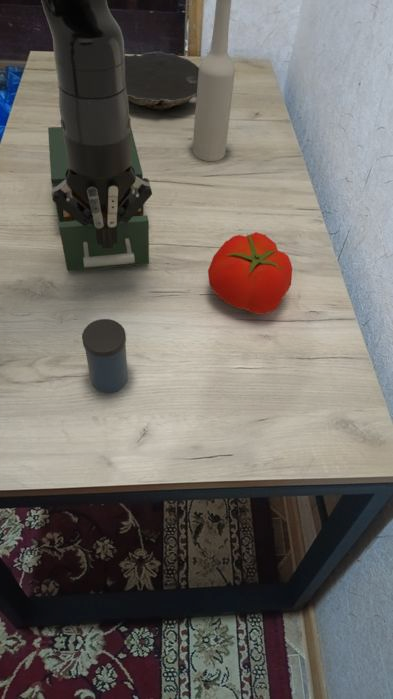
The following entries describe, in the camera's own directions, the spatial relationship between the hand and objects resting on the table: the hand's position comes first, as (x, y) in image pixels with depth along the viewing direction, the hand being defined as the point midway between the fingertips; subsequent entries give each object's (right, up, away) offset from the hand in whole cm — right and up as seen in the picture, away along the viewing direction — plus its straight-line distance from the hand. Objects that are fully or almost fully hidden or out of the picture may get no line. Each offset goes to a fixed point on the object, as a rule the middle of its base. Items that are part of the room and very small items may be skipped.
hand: (107, 244), depth 69 cm
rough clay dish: (+3, +42, +42) cm, 59 cm away
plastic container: (+1, -19, -5) cm, 19 cm away
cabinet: (-4, +11, +17) cm, 21 cm away
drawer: (-2, +1, +9) cm, 9 cm away
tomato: (+20, -6, +6) cm, 22 cm away
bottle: (+15, +25, +29) cm, 41 cm away
